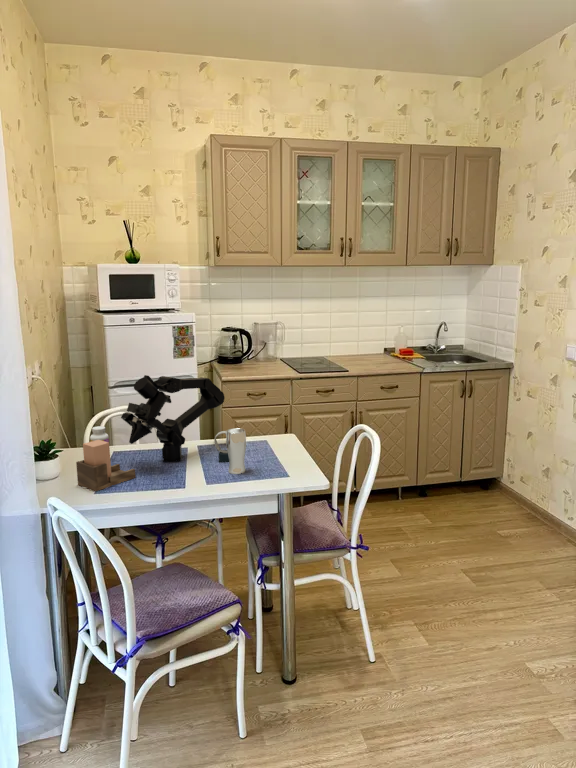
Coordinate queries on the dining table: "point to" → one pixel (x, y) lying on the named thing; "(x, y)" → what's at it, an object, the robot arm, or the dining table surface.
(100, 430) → the supplement bottle
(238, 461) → the beer glass
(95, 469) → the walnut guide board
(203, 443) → the dining table surface
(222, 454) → the watch
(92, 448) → the terracotta block
